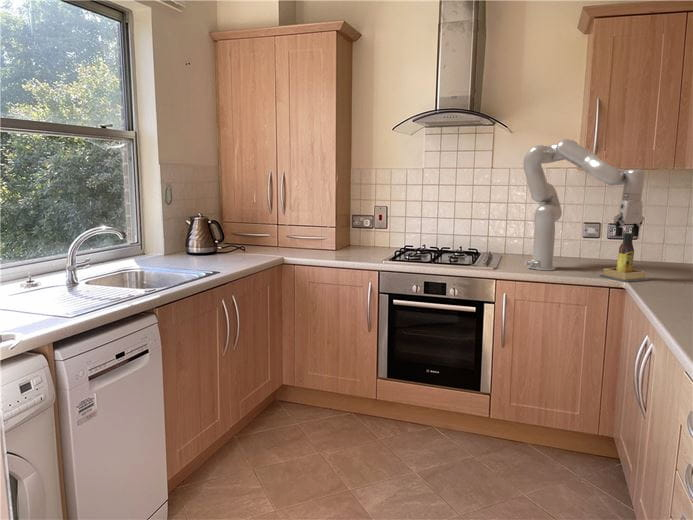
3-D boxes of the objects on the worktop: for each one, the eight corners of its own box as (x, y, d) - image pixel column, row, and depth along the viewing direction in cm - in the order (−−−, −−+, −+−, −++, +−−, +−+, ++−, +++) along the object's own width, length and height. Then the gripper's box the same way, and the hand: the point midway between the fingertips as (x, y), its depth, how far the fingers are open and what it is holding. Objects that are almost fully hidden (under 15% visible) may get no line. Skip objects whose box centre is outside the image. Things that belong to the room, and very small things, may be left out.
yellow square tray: (625, 282, 228) (626, 273, 228) (599, 276, 241) (600, 268, 240) (648, 280, 233) (649, 272, 233) (622, 274, 246) (622, 266, 245)
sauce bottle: (626, 278, 233) (631, 233, 230) (613, 276, 238) (617, 232, 235) (634, 276, 237) (638, 233, 233) (620, 274, 242) (624, 231, 238)
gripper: (624, 198, 225) (619, 237, 228) (653, 198, 231) (647, 237, 234) (610, 196, 232) (605, 235, 235) (638, 197, 238) (633, 234, 241)
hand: (626, 236), depth 234 cm, fingers open, 9 cm apart
